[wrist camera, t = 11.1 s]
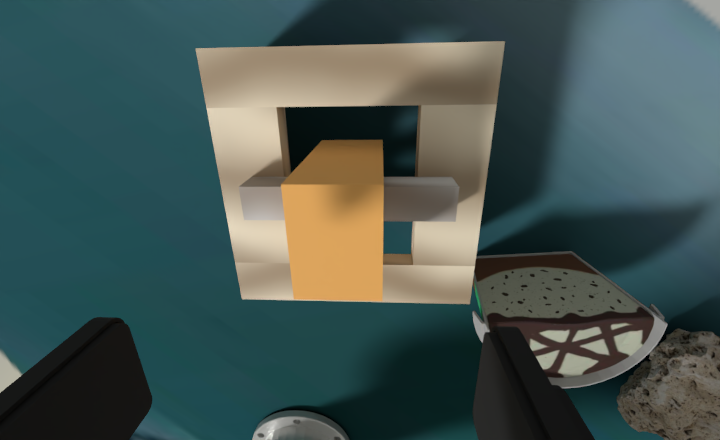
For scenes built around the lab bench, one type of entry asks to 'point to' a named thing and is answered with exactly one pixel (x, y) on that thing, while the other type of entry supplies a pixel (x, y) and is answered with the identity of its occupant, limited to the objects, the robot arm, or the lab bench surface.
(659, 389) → the pumice stone
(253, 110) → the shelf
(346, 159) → the tall wooden brick
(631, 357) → the food container
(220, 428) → the lab bench surface
